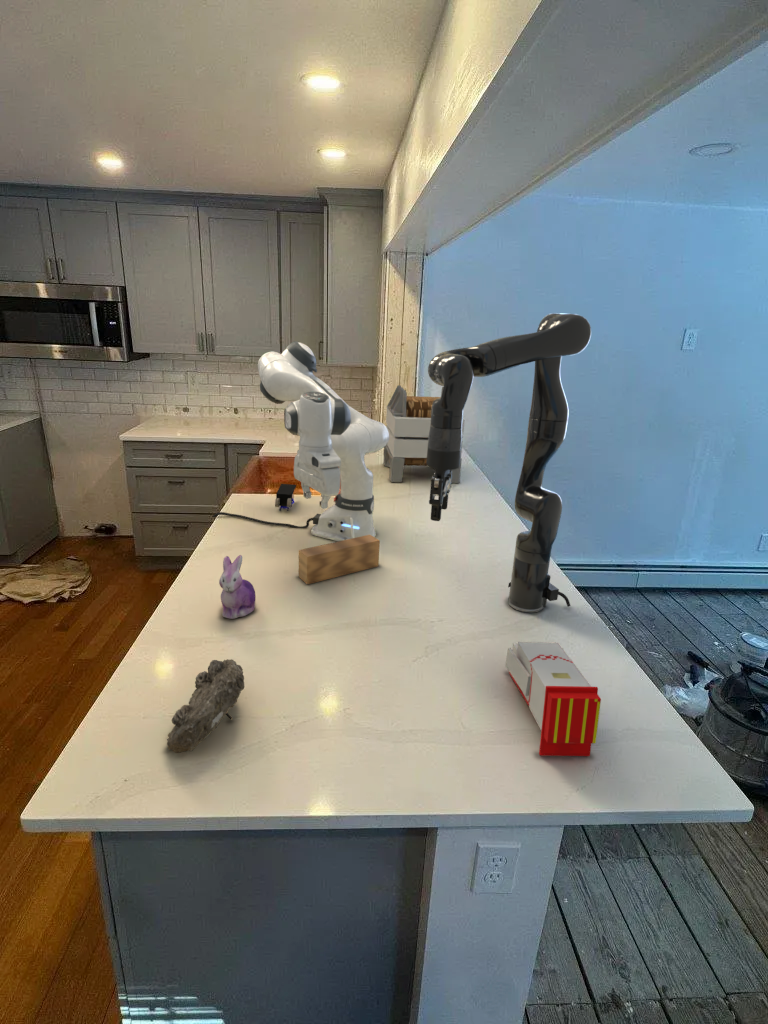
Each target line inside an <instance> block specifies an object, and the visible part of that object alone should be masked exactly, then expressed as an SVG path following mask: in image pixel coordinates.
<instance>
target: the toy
mask: <svg viewBox="0 0 768 1024" xmlns="http://www.w3.org/2000/svg"><path fill="white" fill-rule="evenodd" d="M511 646H512V647H508V648H507V653H506V658H505V659H506V660H505V668H506V669H507V671H508V675H509V676H510V677H511V679H512V681H513V682H514V684H515V686H516V688H517V689H518V691H519V693H520V694H521V696H522V698H523V700H524V702H525V703H526V705H527V706H528V708H529V710H530V712H531V715H532V716H533V718H534V720H535V722H536V723H537V724H536V725H537V726H538V727H539V730H540V731H541V733H540V739H539V740H540V741H539V749H538V751H539V752H538V754H539V756H543V757H548V756H550V757H551V756H552V757H553V756H554V757H568V756H569V757H591V751H592V744H596V743H597V734H598V726H599V717H600V710H601V702H602V698H601V697H600V696H599V694H598V693H599V688H598V686H592V684H590V682H589V681H588V680H587V678H586V677H585V676H584V675H583V673H582V672H581V671H580V669H579V668H578V667H577V665H576V664H575V663H574V661H573V660H572V659H571V658H570V656H569V655H568V654H567V652H566V651H565V649H564V647H562V645H561V644H560V643H559V642H553V641H551V642H549V641H548V642H547V641H546V642H545V641H517V642H512V645H511Z"/></svg>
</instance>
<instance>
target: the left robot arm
mask: <svg viewBox="0 0 768 1024" xmlns="http://www.w3.org/2000/svg"><path fill="white" fill-rule="evenodd" d="M257 372H258V377H259V379H260V382H259V390H260V393H261V394H262V395H263V397H264V398H266V400H268V401H269V402H271V403H274V404H276V405H283V404H284V403H285V402H290V403H288V404H287V406H286V407H285V408H284V412H283V420H284V421H283V422H284V428H285V430H287V432H289V434H291V435H293V436H299V440H298V449H297V450H296V455H295V456H294V459H293V476H294V479H295V480H297V481H299V482H300V486H301V490H302V493H303V498H304V499H306V500H308V499H311V498H312V491H311V489H313V490H314V491H316V492H318V493H319V494H320V497H321V500H319V508H321V509H322V510H323V512H321V513H316V514H315V515H314V516H313V517H309V518H307V520H306V521H305V523H306V524H305V525H303V526H299V525H294V524H290V523H283V522H282V523H281V522H273V521H267V520H263V519H257V518H254V517H251V516H246V515H241V514H236V513H229V512H224V511H220V512H216V513H214V514H213V515H212V518H217V517H218V516H227V517H234V518H239V519H243V520H248V521H252V522H256V523H260V524H264V525H270V526H276V527H277V526H278V527H288V528H293V529H307V528H309V526H310V522H311V521H312V525H313V526H312V528H311V530H310V533H311V536H315V537H319V538H323V539H326V540H330V541H334V542H338V541H343V540H347V539H352V538H357V537H361V536H366V535H372V536H373V537H375V538H376V535H377V532H376V528H375V523H374V513H373V512H374V509H375V496H374V473H373V471H372V470H371V469H369V468H368V467H367V466H366V465H367V464H366V462H365V457H366V456H367V455H371V454H375V453H377V452H380V451H381V450H382V449H384V447H385V446H386V445H387V443H388V441H389V432H388V429H387V428H386V426H387V425H385V424H384V423H383V422H381V421H378V420H375V419H372V418H370V417H368V416H366V415H365V414H363V413H362V412H360V411H358V410H356V409H355V408H353V407H352V406H351V405H349V404H348V403H347V402H345V400H343V398H342V397H340V396H339V394H338V393H336V392H335V390H333V389H332V388H331V386H329V385H328V384H327V383H325V381H323V380H321V379H320V378H319V377H317V376H316V375H314V373H318V368H317V358H316V355H315V354H314V352H313V350H312V349H311V348H310V347H309V346H308V345H307V344H305V343H303V342H300V341H296V340H294V341H292V342H291V343H289V344H288V345H287V346H286V348H285V349H284V350H283V351H282V352H281V353H280V352H277V351H267V352H265V353H263V354H262V355H261V356H260V357H259V359H258V361H257ZM332 497H333V502H334V504H333V505H331V506H329V501H330V499H331V498H332ZM324 509H325V510H324Z"/></svg>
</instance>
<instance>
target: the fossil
mask: <svg viewBox="0 0 768 1024" xmlns="http://www.w3.org/2000/svg"><path fill="white" fill-rule="evenodd" d="M243 670H244V669H243V667H242V665H240V664H237V662H236V661H235V660H234V659H232V658H231V659H227V658H226V659H224V660H223V661H222V660H217V659H212V660H211V661H210V663H209V665H208V666H207V671H201V672H199V673H198V674H197V675H196V676H195V680H194V684H195V685H194V687H195V689H194V690H193V693H192V694H191V697H190V698H189V700H188V704H184V705H182V706H181V707H180V709H177V710H176V711H175V713H174V715H173V716H172V718H171V723H172V724H173V727H172V730H171V731H170V732H168V734H167V738H166V741H167V742H166V745H167V749H168V750H169V751H173V752H174V753H176V754H178V753H182V752H188V751H189V752H192V751H193V750H195V748H196V747H197V746H199V744H200V743H201V742H203V741H204V740H205V739H206V738H207V737H208V736H209V735H210V734H211V733H212V732H214V730H215V729H217V727H218V726H219V724H220V722H221V721H222V720H223V719H224V718H225V716H226V717H227V719H229V720H233V717H232V715H230V714H229V710H230V709H231V708H234V706H235V704H236V703H237V702H238V699H239V697H240V695H241V693H242V691H243V690H245V689H244V688H245V675H244V671H243Z"/></svg>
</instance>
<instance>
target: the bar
mask: <svg viewBox="0 0 768 1024" xmlns="http://www.w3.org/2000/svg"><path fill="white" fill-rule="evenodd" d="M380 542H381V540H380V539H378V538H377V537H376V536H375V537H373V536H372V535H366V536H361V537H357V538H352V539H347V540H343V541H334V542H329V543H325V544H321V545H320V544H319V545H316V546H310V547H307V548H301V549H298V578H299V579H300V580H301V581H302V582H304V583H305V584H306V585H310V584H315V583H318V582H322V581H327V580H330V579H334V578H338V577H342V576H346V575H350V574H353V573H358V572H362V571H365V570H366V571H367V570H369V569H373V568H377V567H379V565H380V545H381V544H380Z"/></svg>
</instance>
